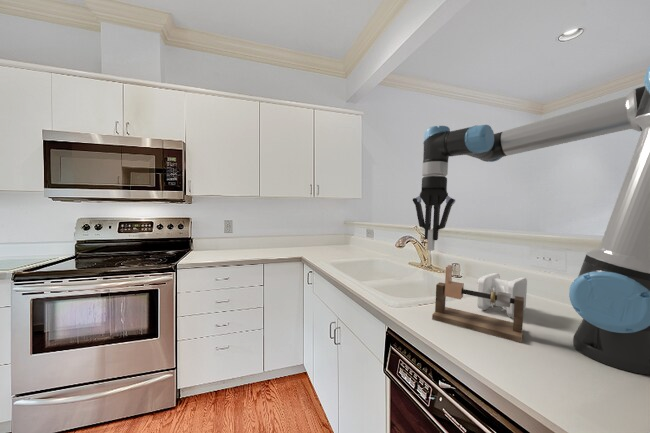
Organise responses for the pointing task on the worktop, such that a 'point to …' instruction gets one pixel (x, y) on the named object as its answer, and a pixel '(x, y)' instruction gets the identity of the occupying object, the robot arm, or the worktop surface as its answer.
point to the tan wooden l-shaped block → (452, 285)
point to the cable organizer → (498, 285)
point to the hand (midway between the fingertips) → (430, 249)
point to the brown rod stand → (479, 321)
